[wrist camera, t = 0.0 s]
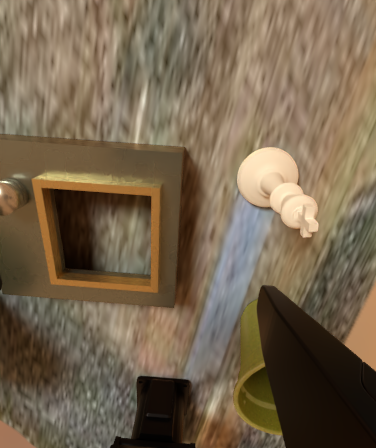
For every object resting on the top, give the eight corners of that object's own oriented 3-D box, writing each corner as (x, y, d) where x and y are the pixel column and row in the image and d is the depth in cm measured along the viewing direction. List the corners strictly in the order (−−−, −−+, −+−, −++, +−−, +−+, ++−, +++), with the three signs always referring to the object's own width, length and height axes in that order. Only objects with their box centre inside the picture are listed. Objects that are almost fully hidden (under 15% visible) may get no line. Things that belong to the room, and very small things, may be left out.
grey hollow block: (176, 287, 27) (172, 320, 23) (22, 275, 27) (-10, 305, 23) (184, 147, 21) (180, 156, 17) (-11, 133, 21) (-62, 139, 17)
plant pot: (208, 304, 28) (211, 383, 20) (293, 266, 25) (335, 339, 17) (248, 359, 31) (264, 446, 23) (326, 330, 28) (375, 416, 20)
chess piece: (299, 144, 21) (376, 174, 12) (294, 203, 23) (357, 267, 14) (236, 150, 21) (263, 182, 12) (237, 207, 23) (261, 272, 14)
